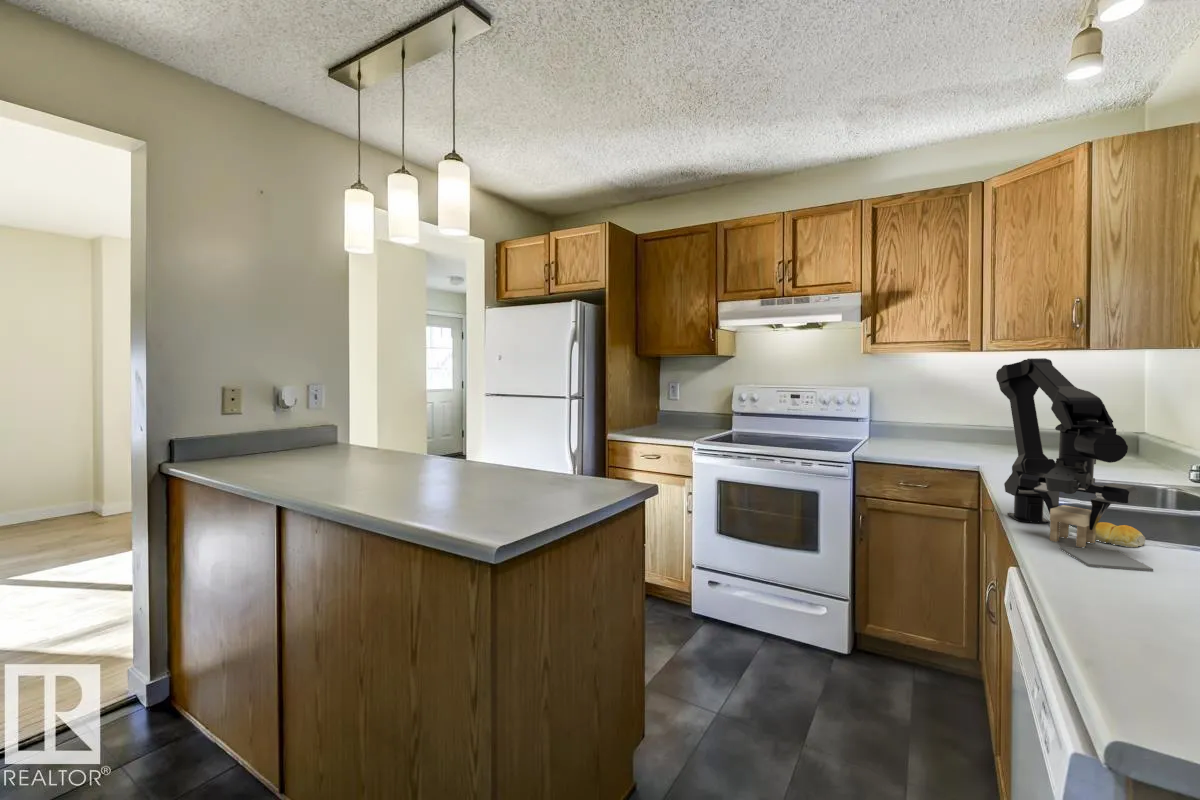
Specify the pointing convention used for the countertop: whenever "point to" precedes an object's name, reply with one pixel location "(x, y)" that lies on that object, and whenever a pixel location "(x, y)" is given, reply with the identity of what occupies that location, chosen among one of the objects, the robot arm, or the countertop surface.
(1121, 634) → the countertop surface
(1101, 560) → the mat
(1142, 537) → the bread roll
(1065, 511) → the stool
